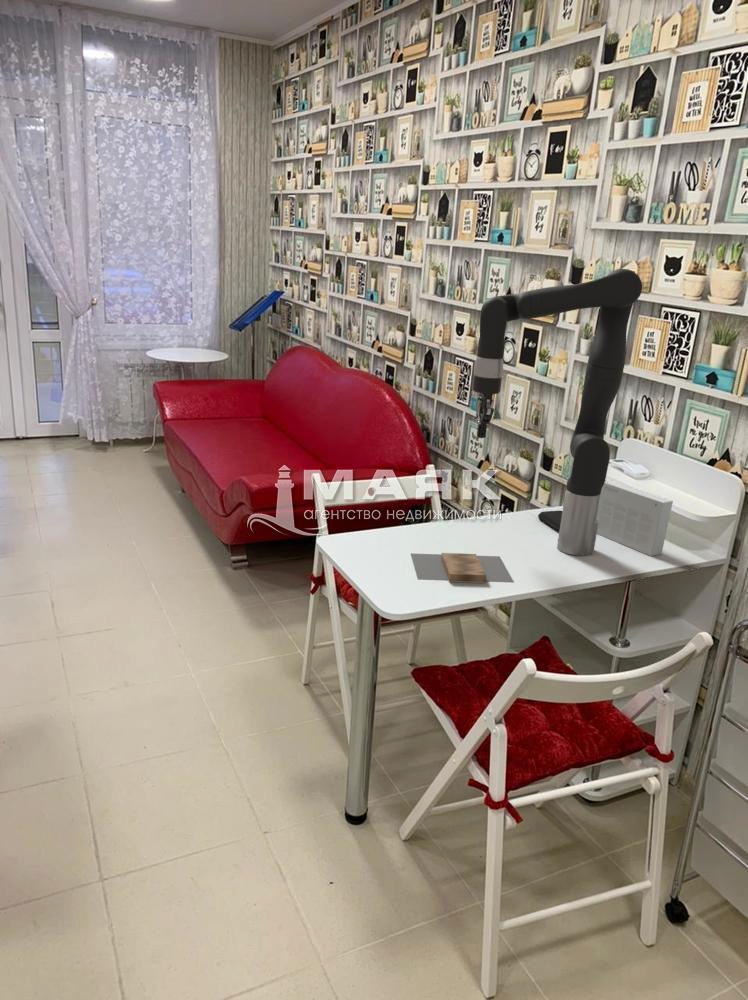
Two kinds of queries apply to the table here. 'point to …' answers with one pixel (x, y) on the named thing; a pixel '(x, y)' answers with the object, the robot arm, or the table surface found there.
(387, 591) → the table surface
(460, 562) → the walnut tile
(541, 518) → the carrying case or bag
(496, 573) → the charcoal mat
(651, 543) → the skincare box
